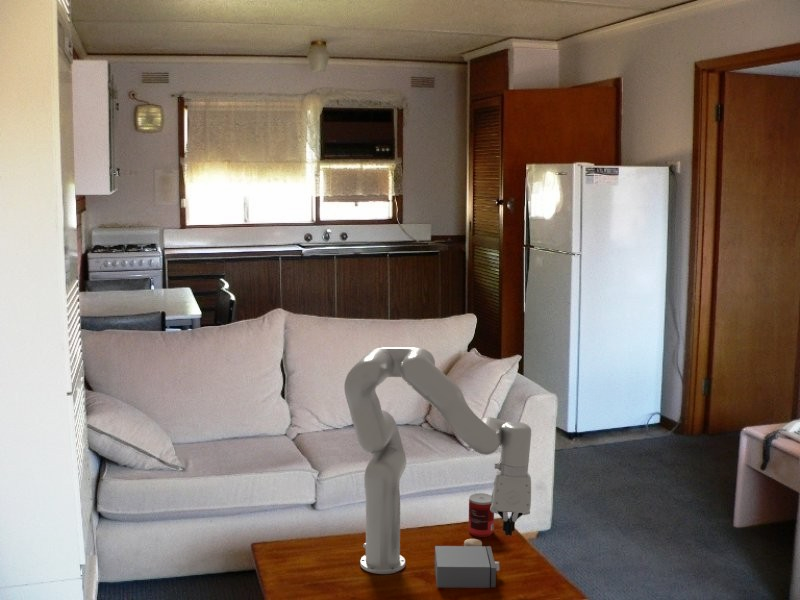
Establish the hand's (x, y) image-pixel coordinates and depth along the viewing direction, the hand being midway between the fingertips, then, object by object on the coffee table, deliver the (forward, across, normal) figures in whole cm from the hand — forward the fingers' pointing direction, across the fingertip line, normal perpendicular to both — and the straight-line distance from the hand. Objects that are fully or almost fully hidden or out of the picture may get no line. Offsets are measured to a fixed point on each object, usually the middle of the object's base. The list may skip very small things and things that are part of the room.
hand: (508, 533), depth 252 cm
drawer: (+13, -10, 0) cm, 16 cm away
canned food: (+13, -4, +29) cm, 32 cm away
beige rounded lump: (+13, -8, +12) cm, 19 cm away
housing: (+13, -12, 0) cm, 17 cm away
